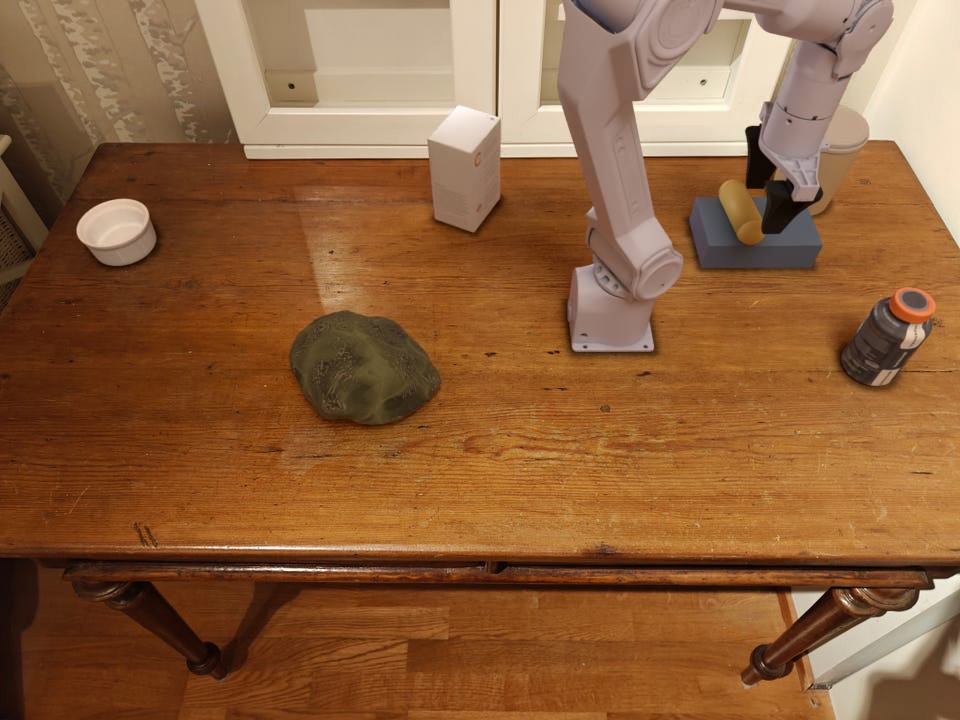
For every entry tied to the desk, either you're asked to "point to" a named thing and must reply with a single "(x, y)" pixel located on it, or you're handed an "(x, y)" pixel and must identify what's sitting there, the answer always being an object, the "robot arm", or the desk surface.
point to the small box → (465, 167)
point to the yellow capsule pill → (741, 211)
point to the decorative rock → (362, 368)
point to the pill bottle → (889, 336)
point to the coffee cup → (838, 153)
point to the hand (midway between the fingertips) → (762, 209)
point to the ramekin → (117, 232)
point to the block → (774, 251)
